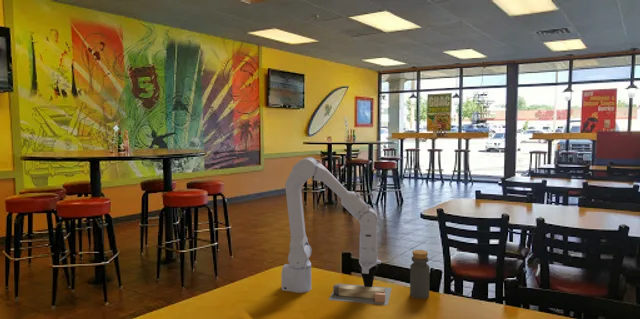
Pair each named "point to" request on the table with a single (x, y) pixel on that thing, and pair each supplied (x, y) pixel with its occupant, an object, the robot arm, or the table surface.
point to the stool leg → (356, 291)
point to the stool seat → (360, 299)
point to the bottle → (419, 275)
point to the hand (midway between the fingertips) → (368, 288)
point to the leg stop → (380, 297)
